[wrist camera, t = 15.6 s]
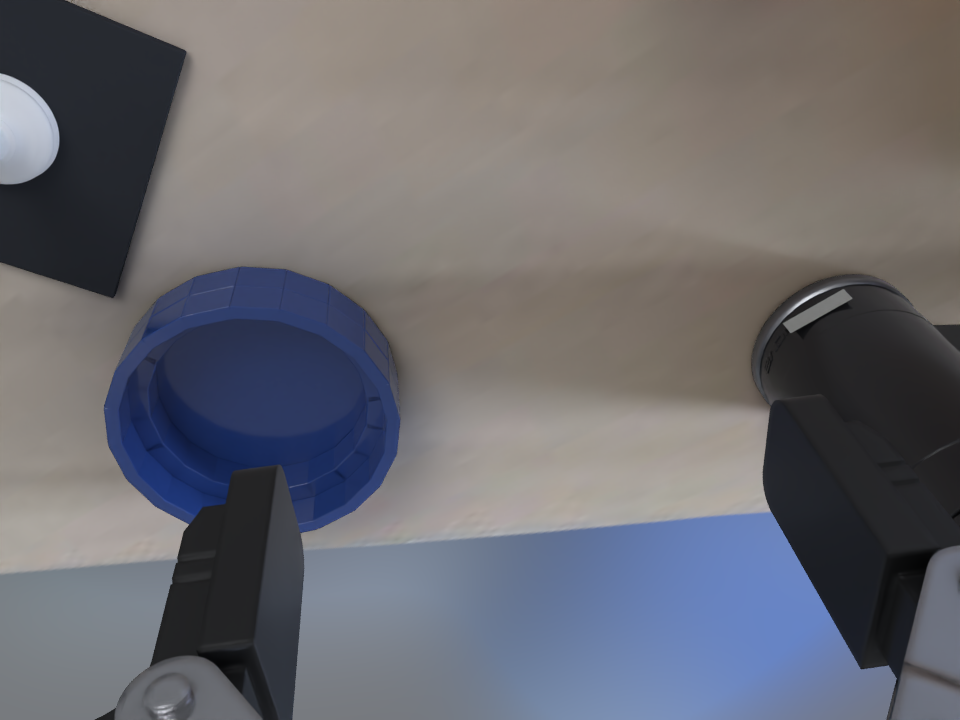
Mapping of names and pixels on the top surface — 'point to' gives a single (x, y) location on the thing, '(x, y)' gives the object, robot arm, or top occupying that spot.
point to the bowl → (255, 395)
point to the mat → (84, 138)
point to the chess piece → (24, 132)
